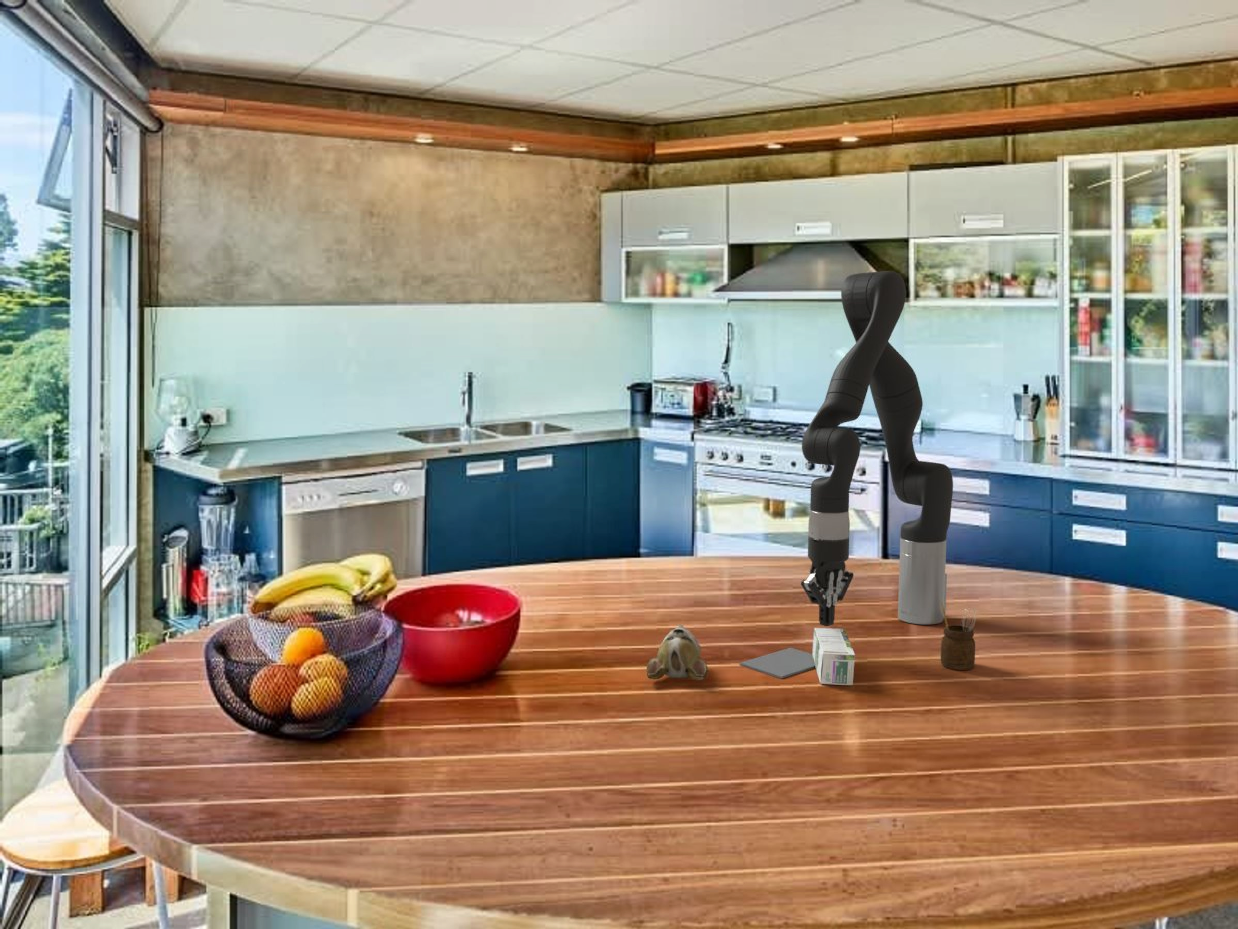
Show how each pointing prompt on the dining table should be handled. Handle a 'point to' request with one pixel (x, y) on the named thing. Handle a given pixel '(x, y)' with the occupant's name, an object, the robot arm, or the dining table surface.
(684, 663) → the ceramic sculpture
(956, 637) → the utensil holder
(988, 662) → the dining table surface
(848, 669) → the syrup box
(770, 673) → the mat
